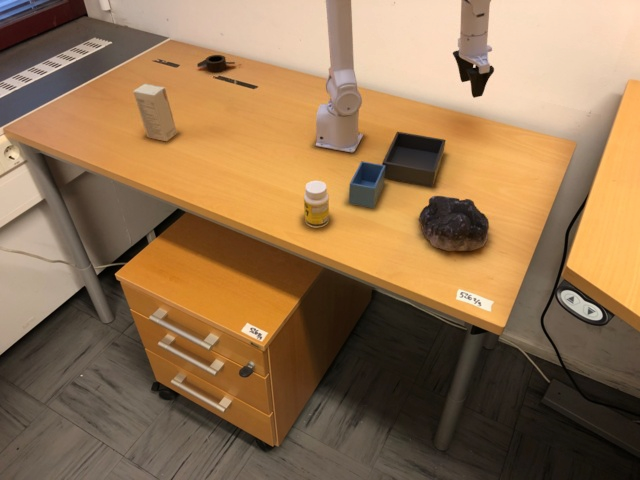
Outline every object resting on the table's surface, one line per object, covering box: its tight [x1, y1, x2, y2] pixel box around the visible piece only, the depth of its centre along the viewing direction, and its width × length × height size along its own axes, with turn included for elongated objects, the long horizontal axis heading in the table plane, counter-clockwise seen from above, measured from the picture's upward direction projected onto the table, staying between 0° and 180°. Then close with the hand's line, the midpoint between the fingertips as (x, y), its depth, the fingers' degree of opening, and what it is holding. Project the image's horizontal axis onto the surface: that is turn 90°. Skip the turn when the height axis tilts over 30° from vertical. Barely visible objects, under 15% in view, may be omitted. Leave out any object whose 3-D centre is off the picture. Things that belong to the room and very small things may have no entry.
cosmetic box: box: [132, 83, 178, 142], centre depth 122 cm, size 6×4×12 cm
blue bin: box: [348, 160, 385, 209], centre depth 106 cm, size 8×5×5 cm, turn 160°
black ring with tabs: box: [197, 54, 236, 74], centre depth 153 cm, size 8×10×3 cm
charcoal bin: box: [381, 131, 447, 188], centre depth 114 cm, size 11×13×4 cm
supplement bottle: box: [303, 180, 330, 229], centre depth 99 cm, size 5×5×8 cm
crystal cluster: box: [418, 195, 490, 252], centre depth 96 cm, size 13×14×10 cm
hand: (471, 88), depth 120 cm, fingers open, 7 cm apart
